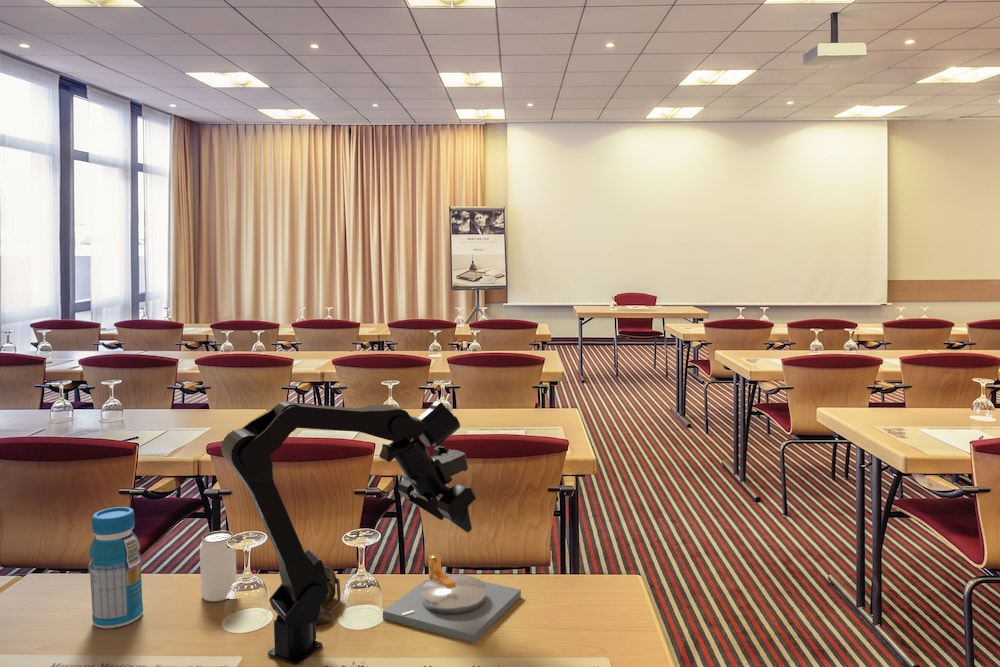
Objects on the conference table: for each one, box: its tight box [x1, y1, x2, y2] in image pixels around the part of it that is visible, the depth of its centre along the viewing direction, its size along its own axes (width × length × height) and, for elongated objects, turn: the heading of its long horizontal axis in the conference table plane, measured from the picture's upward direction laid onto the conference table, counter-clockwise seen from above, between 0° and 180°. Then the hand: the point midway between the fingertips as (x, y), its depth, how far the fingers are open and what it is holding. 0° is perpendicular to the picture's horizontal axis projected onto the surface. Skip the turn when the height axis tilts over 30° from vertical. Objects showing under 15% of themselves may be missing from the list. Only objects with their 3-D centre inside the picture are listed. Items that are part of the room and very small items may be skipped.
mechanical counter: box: [316, 564, 341, 625], centre depth 131 cm, size 7×13×10 cm
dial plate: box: [382, 571, 522, 644], centre depth 131 cm, size 19×19×2 cm
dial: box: [422, 553, 486, 614], centre depth 132 cm, size 15×12×6 cm
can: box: [199, 530, 238, 603], centre depth 136 cm, size 6×6×12 cm
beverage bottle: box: [88, 506, 144, 629], centre depth 127 cm, size 8×8×20 cm
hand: (455, 524), depth 133 cm, fingers open, 9 cm apart
